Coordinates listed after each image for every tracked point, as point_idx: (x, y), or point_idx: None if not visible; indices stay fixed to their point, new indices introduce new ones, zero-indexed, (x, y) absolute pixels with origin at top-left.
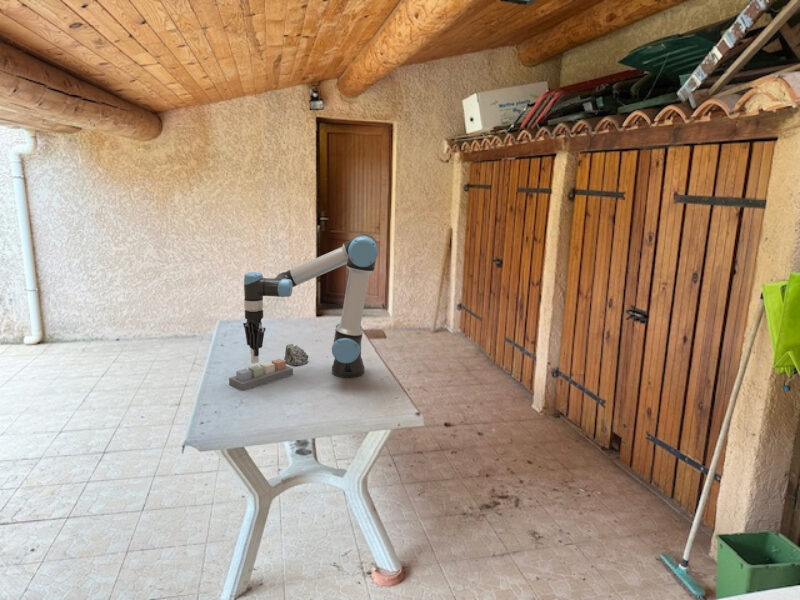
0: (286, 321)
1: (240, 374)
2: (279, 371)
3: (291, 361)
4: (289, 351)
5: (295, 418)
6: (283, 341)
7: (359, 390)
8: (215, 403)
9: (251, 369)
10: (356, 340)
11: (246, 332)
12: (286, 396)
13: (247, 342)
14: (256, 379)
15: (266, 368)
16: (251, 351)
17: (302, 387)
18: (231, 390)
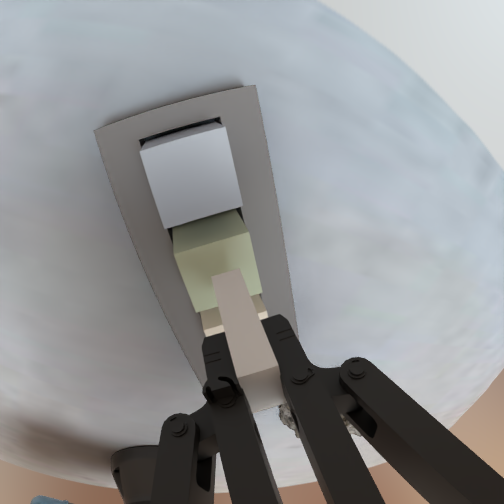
0: (497, 371)
1: (163, 141)
2: (200, 355)
3: None
4: (340, 415)
5: None
6: (452, 369)
7: (25, 440)
8: None
9: (209, 241)
10: None
11: (455, 475)
12: None
13: (374, 381)
14: (133, 230)
15: (202, 323)
16: (258, 343)
17: (61, 366)
18: (147, 70)
